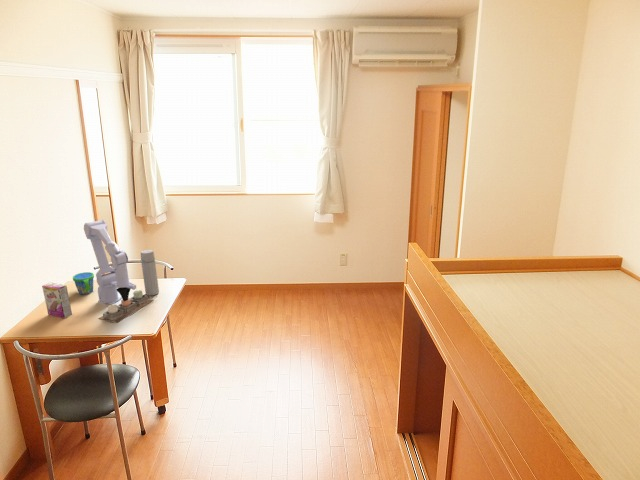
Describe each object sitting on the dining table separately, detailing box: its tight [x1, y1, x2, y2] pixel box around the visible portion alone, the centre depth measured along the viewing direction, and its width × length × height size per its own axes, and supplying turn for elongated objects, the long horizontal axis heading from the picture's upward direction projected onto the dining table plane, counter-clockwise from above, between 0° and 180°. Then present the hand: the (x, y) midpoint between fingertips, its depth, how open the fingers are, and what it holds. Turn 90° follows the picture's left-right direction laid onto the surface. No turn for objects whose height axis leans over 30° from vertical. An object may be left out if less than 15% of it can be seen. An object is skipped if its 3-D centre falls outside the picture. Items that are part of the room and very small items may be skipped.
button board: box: [98, 294, 154, 324], centre depth 233 cm, size 12×26×3 cm, turn 160°
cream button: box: [107, 303, 118, 315], centre depth 224 cm, size 4×4×4 cm
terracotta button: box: [120, 297, 131, 307], centre depth 232 cm, size 4×4×4 cm
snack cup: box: [72, 271, 95, 295], centre depth 253 cm, size 16×10×10 cm
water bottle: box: [139, 249, 160, 296], centre depth 249 cm, size 9×8×25 cm
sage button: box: [133, 290, 144, 300], centre depth 240 cm, size 4×4×4 cm
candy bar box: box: [42, 282, 73, 319], centre depth 226 cm, size 11×5×16 cm, turn 71°
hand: (125, 300), depth 232 cm, fingers closed, pressing on terracotta button
